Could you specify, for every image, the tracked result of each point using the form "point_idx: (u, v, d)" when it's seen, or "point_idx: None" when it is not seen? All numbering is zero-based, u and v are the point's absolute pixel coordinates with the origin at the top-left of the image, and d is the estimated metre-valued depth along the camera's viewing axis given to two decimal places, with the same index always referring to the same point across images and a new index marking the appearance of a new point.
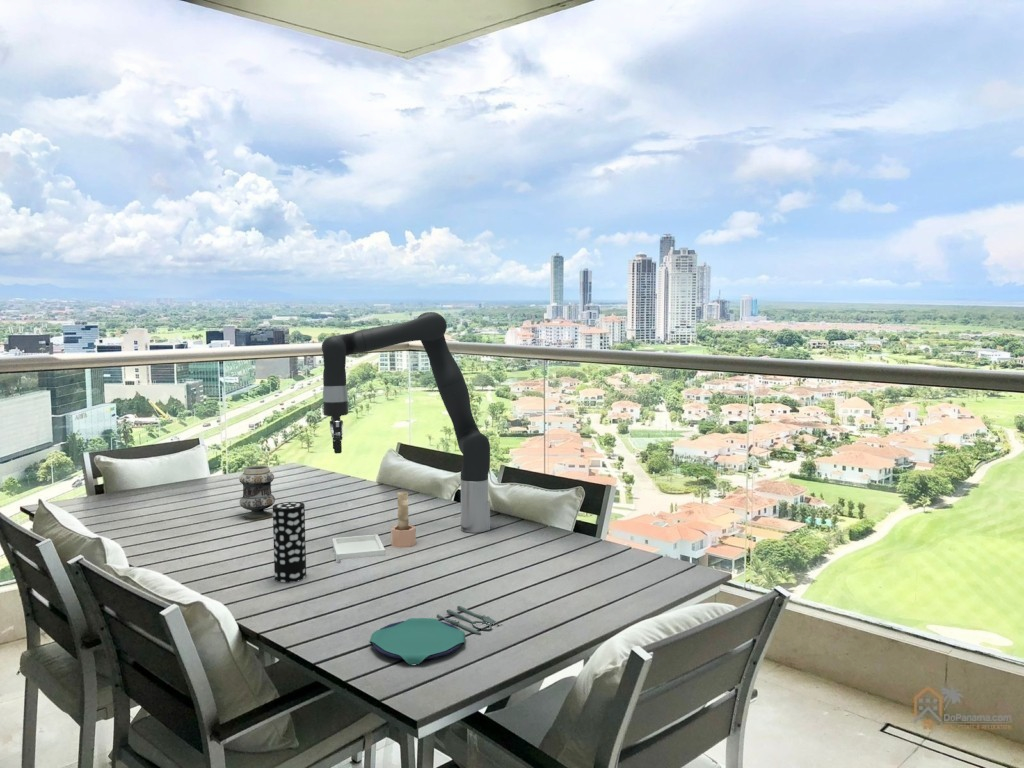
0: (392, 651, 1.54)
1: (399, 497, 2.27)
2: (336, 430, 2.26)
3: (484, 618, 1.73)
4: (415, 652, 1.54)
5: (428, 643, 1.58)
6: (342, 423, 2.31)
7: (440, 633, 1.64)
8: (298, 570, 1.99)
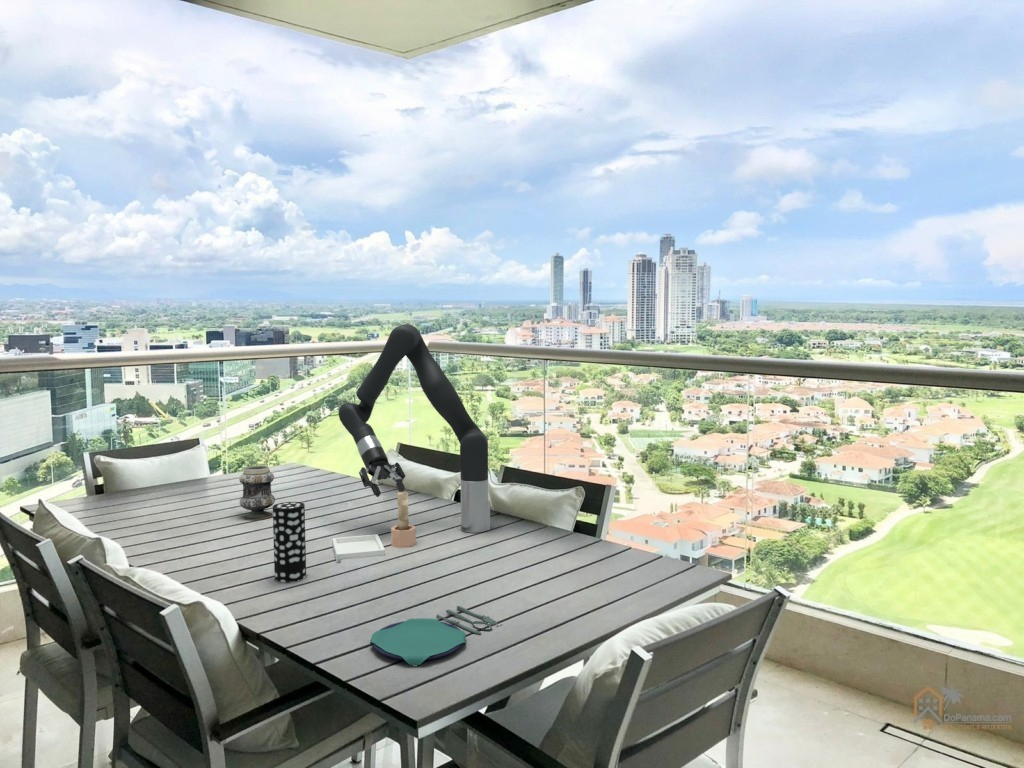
0: (393, 652, 1.54)
1: (399, 497, 2.27)
2: (362, 477, 2.33)
3: (484, 618, 1.73)
4: (416, 653, 1.54)
5: (429, 643, 1.58)
6: (376, 468, 2.36)
7: (440, 633, 1.64)
8: (298, 570, 1.99)
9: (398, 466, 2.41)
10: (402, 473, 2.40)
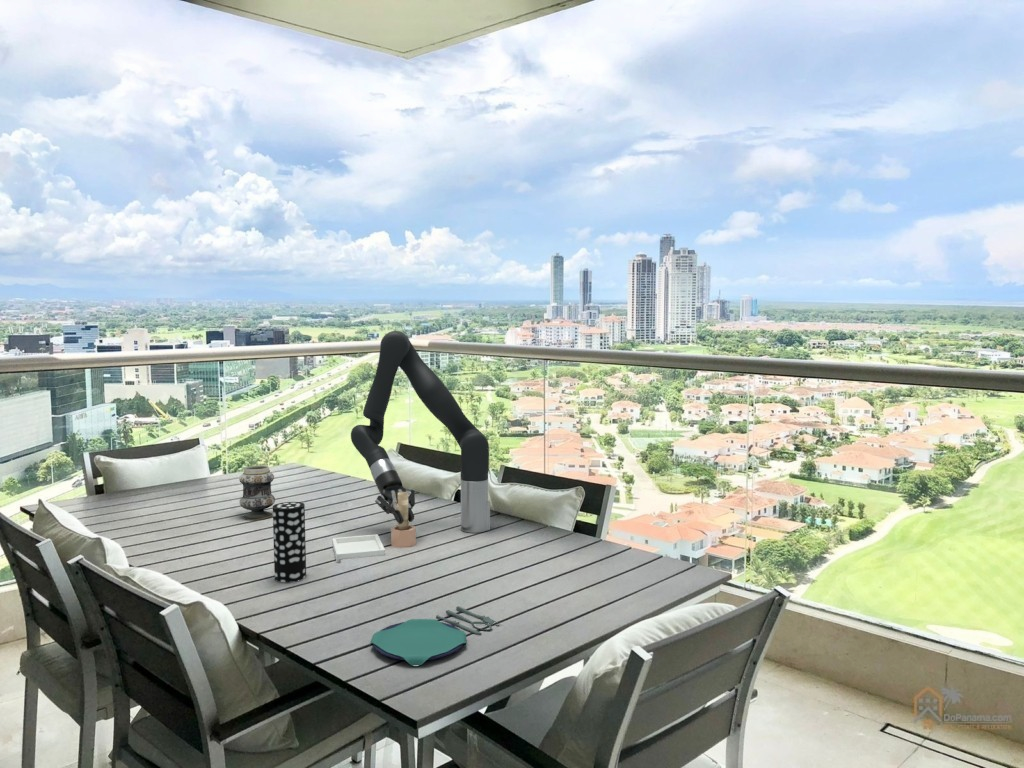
0: (394, 652, 1.53)
1: (399, 497, 2.27)
2: (381, 506, 2.27)
3: (484, 618, 1.72)
4: (417, 653, 1.54)
5: (429, 644, 1.58)
6: (391, 493, 2.30)
7: (441, 634, 1.63)
8: (298, 570, 1.99)
9: (412, 494, 2.34)
10: (413, 501, 2.32)
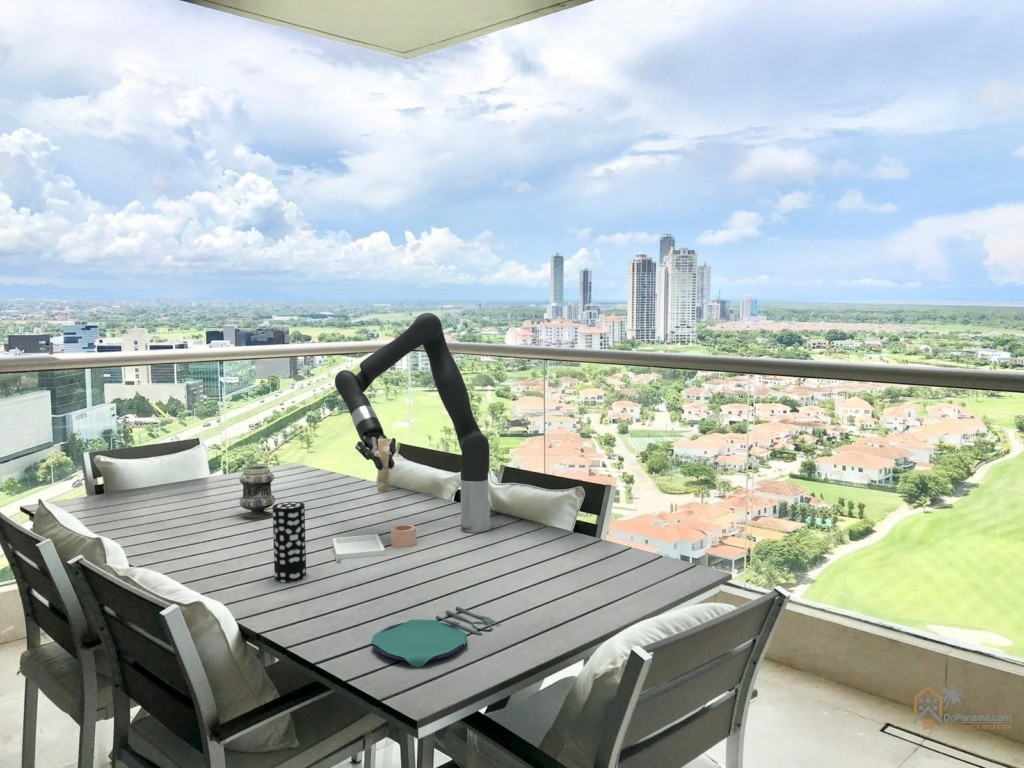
0: (395, 653, 1.53)
1: (379, 443, 2.24)
2: (361, 452, 2.24)
3: (484, 618, 1.72)
4: (418, 654, 1.53)
5: (430, 644, 1.58)
6: (372, 439, 2.26)
7: (441, 634, 1.63)
8: (298, 570, 1.99)
9: (393, 441, 2.31)
10: (393, 449, 2.29)
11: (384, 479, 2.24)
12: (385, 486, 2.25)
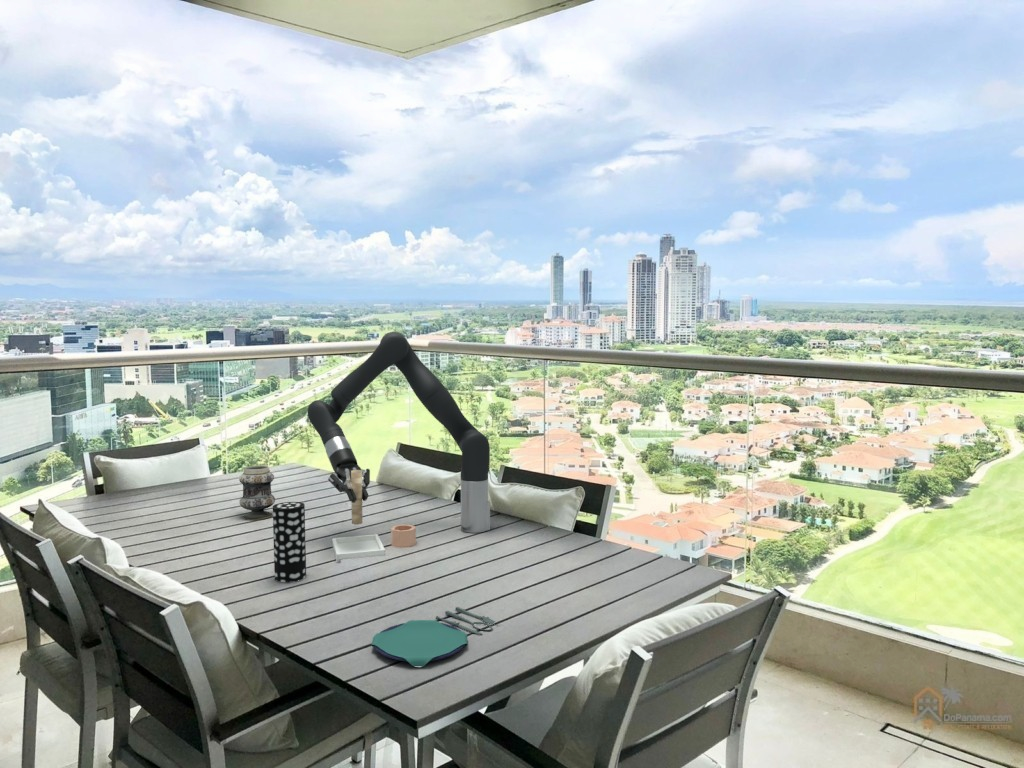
0: (395, 654, 1.53)
1: (352, 475, 2.21)
2: (334, 484, 2.22)
3: (484, 619, 1.72)
4: (419, 654, 1.53)
5: (431, 645, 1.58)
6: (345, 471, 2.24)
7: (441, 635, 1.63)
8: (298, 570, 1.99)
9: (367, 472, 2.29)
10: (367, 480, 2.27)
11: (358, 511, 2.22)
12: (359, 519, 2.22)
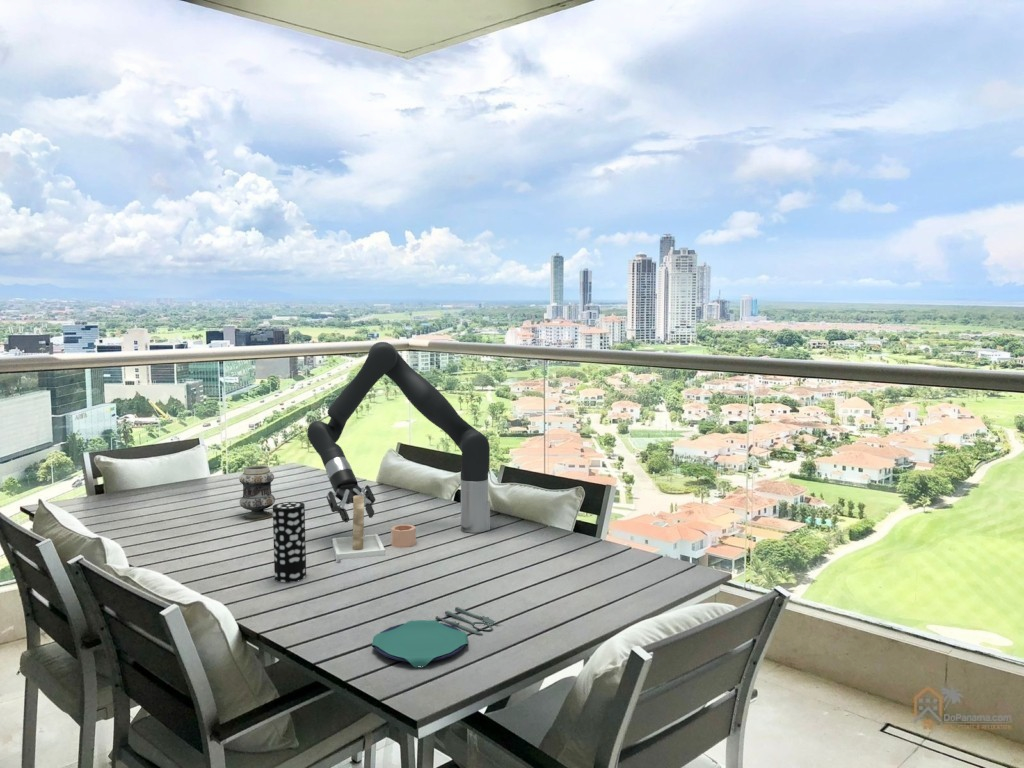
0: (396, 654, 1.53)
1: (355, 500, 2.22)
2: (329, 502, 2.22)
3: (484, 619, 1.72)
4: (419, 655, 1.53)
5: (431, 645, 1.58)
6: (345, 491, 2.25)
7: (442, 635, 1.63)
8: (298, 570, 1.99)
9: (368, 489, 2.30)
10: (372, 497, 2.29)
11: (359, 536, 2.23)
12: (360, 544, 2.23)
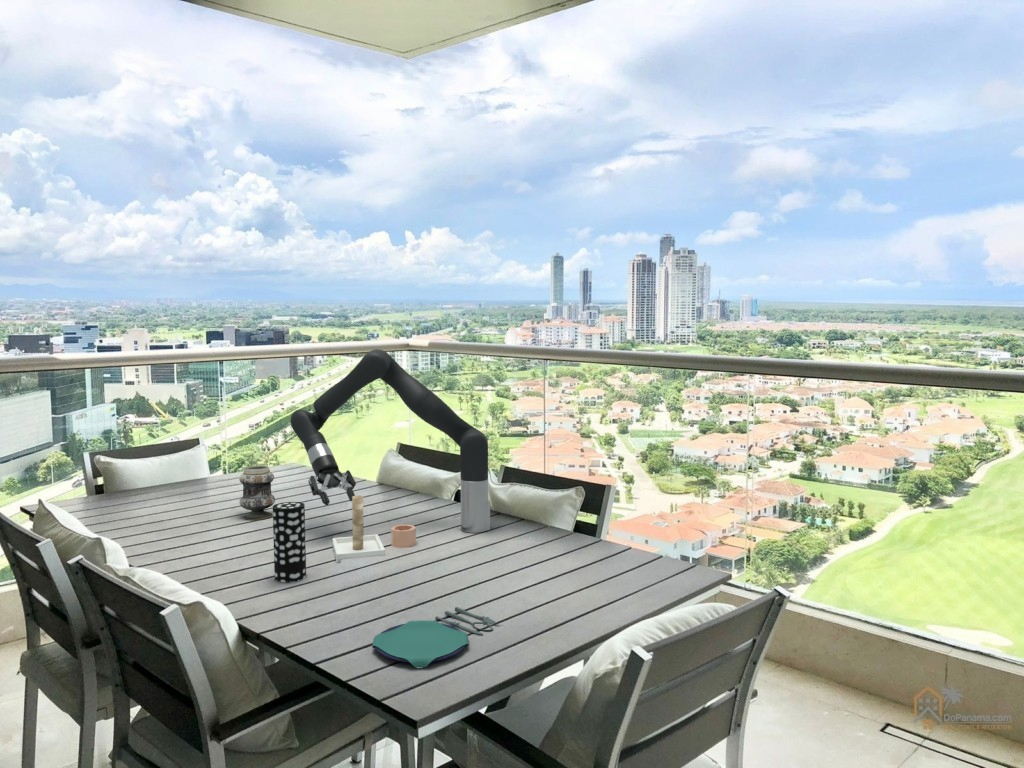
0: (397, 655, 1.52)
1: (354, 501, 2.22)
2: (311, 486, 2.32)
3: (484, 619, 1.72)
4: (420, 655, 1.53)
5: (432, 645, 1.57)
6: (326, 476, 2.34)
7: (442, 635, 1.63)
8: (298, 570, 1.99)
9: (349, 474, 2.40)
10: (353, 481, 2.39)
11: (359, 537, 2.23)
12: (360, 544, 2.23)
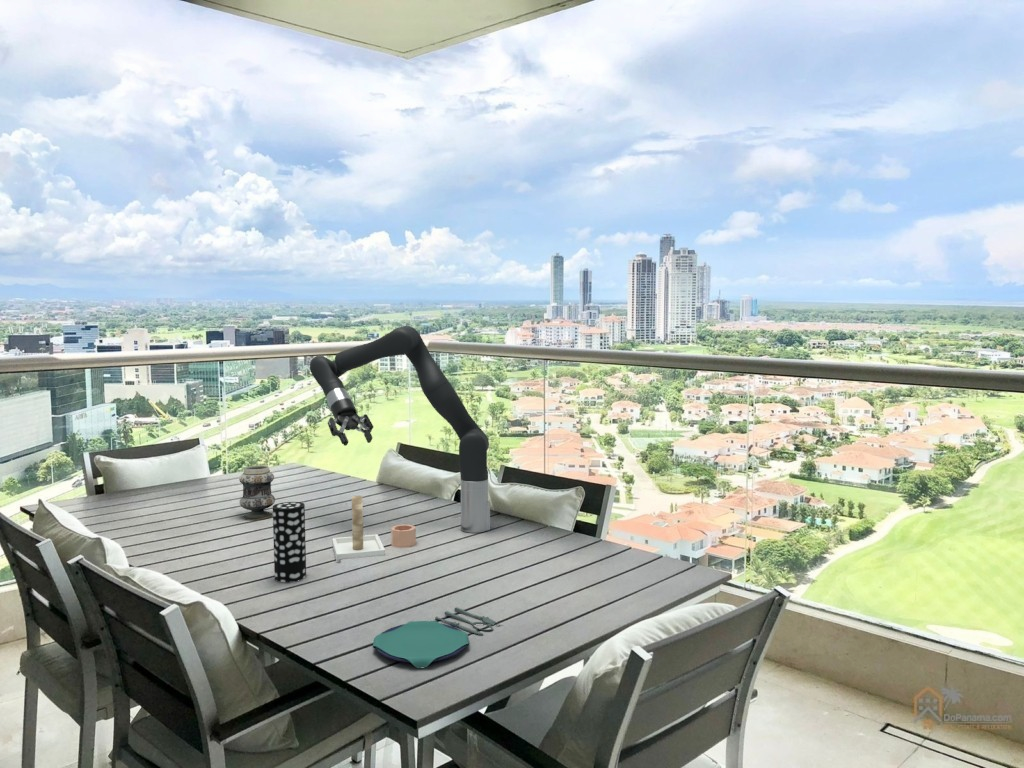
0: (397, 655, 1.52)
1: (353, 501, 2.22)
2: (330, 427, 2.39)
3: (484, 619, 1.72)
4: (421, 655, 1.53)
5: (432, 646, 1.57)
6: (345, 418, 2.42)
7: (442, 635, 1.63)
8: (298, 570, 1.99)
9: (366, 417, 2.47)
10: (370, 424, 2.46)
11: (359, 537, 2.23)
12: (360, 544, 2.23)
